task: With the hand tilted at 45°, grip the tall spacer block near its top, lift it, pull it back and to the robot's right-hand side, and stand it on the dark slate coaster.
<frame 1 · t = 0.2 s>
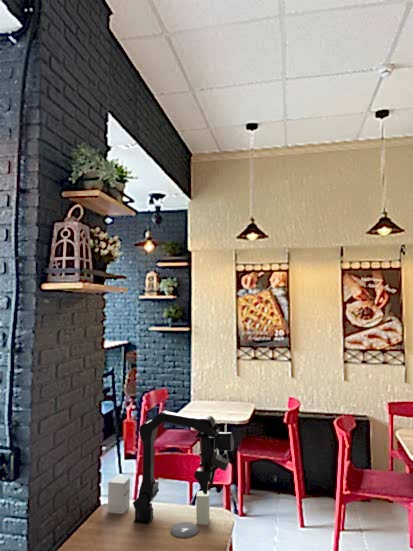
hand: (208, 489, 177), 15 cm above the table, tool pointing down, fingers open, 9 cm apart
spacer block: (203, 521, 182), on the table
slate coaster: (184, 530, 175), on the table
supplement box: (118, 510, 193), on the table
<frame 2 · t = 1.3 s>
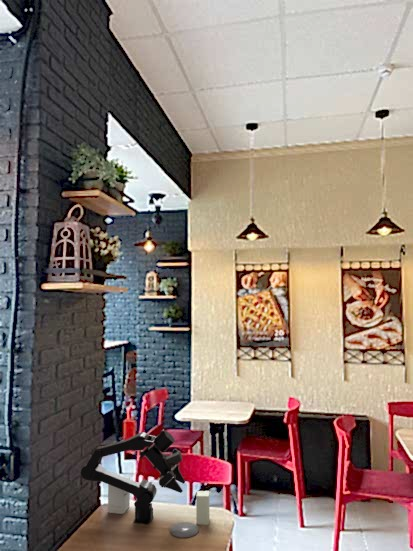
hand: (183, 487, 183), 13 cm above the table, tool tilted 45°, fingers open, 9 cm apart
nothing on the table moved.
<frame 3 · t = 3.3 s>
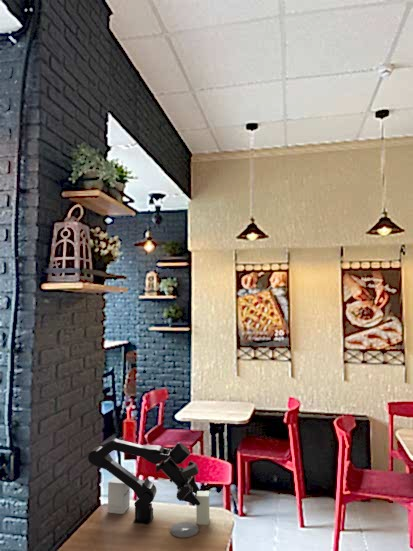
hand: (200, 499, 183), 9 cm above the table, tool tilted 45°, fingers open, 9 cm apart
nothing on the table moved.
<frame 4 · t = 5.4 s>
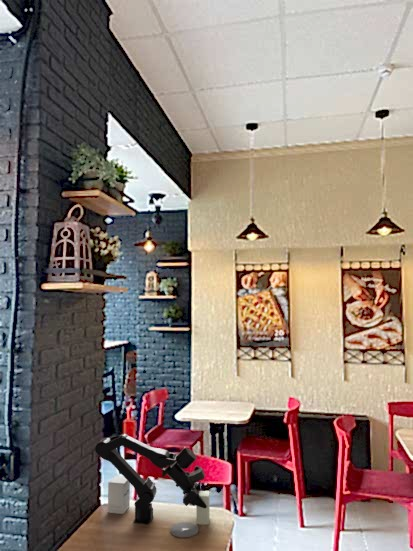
hand: (206, 504, 182), 7 cm above the table, tool tilted 45°, fingers closed on spacer block, 5 cm apart
spacer block: (203, 521, 182), on the table, touching gripper
everything else where it was.
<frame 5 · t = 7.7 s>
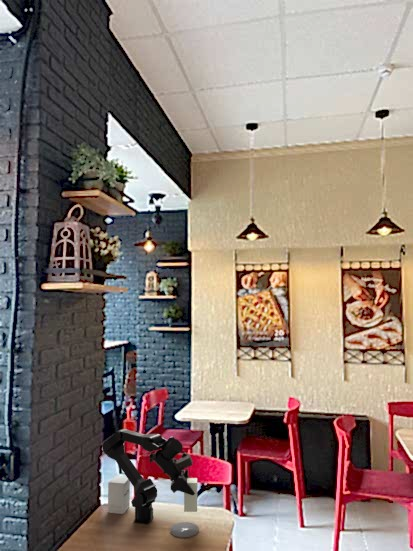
hand: (194, 491, 179), 13 cm above the table, tool tilted 45°, fingers closed on spacer block, 5 cm apart
spacer block: (190, 508, 178), point 7 cm above the table, touching gripper
everything else where it was.
when the fingers open (9 cm above the table, at t = 10.0 s): spacer block drops 1 cm, resting on slate coaster.
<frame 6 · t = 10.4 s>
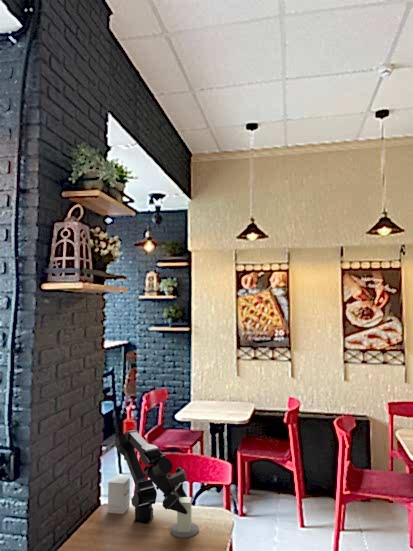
hand: (188, 507, 175), 9 cm above the table, tool tilted 45°, fingers open, 9 cm apart
spacer block: (184, 528, 175), point 1 cm above the table, touching slate coaster
everything else where it was.
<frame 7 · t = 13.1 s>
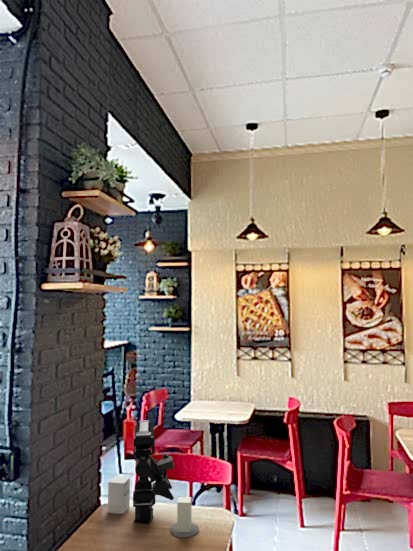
hand: (172, 493, 178), 13 cm above the table, tool tilted 40°, fingers open, 9 cm apart
nothing on the table moved.
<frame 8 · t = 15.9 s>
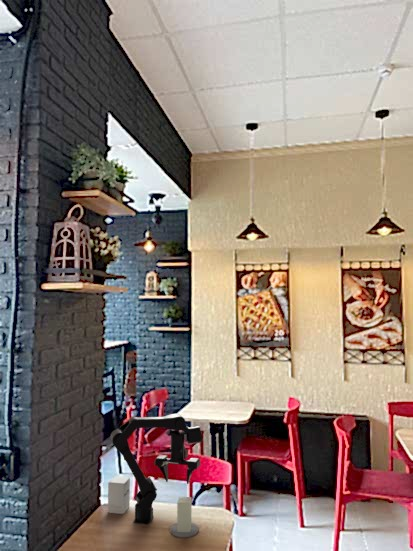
hand: (177, 482, 189), 13 cm above the table, tool pointing down, fingers open, 9 cm apart
nothing on the table moved.
at the end: spacer block 0.0 cm off-centre on the slate coaster, point 0.6 cm above the slate coaster's base; spacer block tilted 0°; the gripper is holding nothing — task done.
